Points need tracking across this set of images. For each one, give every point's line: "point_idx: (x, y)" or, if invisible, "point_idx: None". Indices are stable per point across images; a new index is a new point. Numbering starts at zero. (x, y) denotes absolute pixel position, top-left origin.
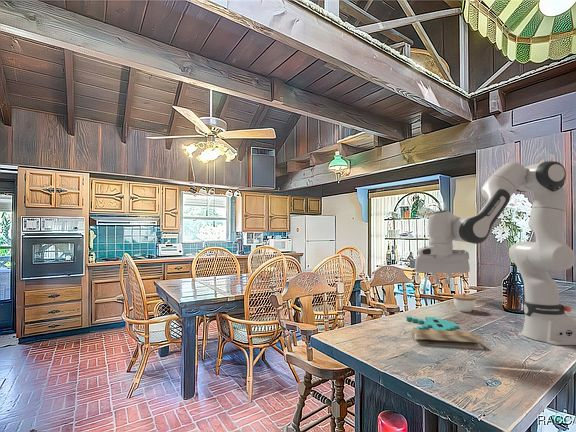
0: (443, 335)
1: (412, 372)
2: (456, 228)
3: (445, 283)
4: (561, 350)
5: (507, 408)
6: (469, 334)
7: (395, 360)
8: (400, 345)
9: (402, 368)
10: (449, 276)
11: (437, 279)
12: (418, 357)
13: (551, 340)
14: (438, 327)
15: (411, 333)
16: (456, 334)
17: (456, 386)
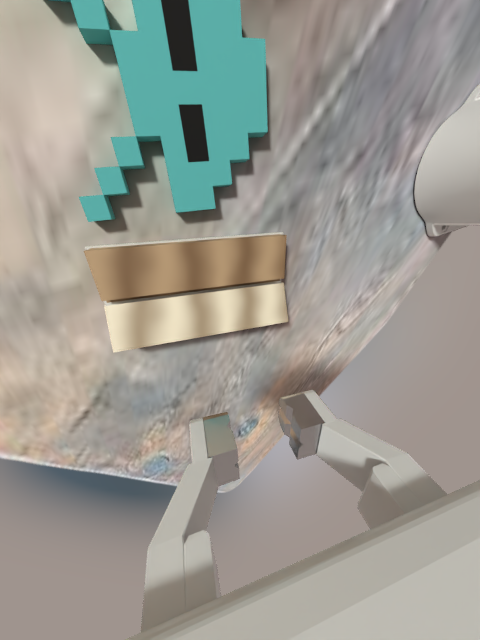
0: (196, 337)
1: (133, 452)
2: None
3: (280, 422)
4: (415, 265)
5: (243, 467)
6: (273, 261)
7: (90, 429)
8: (76, 352)
9: (113, 449)
10: (357, 486)
11: (222, 475)
12: (136, 399)
13: (437, 225)
14: (187, 171)
15: (85, 247)
16: (237, 272)
17: None
